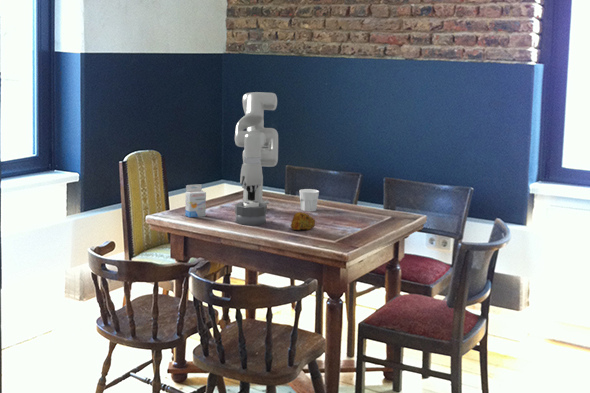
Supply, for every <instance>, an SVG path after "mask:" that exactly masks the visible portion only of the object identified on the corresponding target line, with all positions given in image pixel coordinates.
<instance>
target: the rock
mask: <svg viewBox="0 0 590 393" xmlns="http://www.w3.org/2000/svg"><path fill="white" fill-rule="evenodd" d="M315 225H316V220H315V219H314V218H313V217H312V216H310V215H309V214H308V213H305V212H300V211H299V212H296V213H295V214H294V215H293V217H292V220H291V222H290V228H291V229H292V231H293V230H294V231H296V230H297V231H300V230H307V231H309V230H311V229H313V228H315Z"/></svg>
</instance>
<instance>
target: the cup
mask: <svg viewBox="0 0 590 393" xmlns="http://www.w3.org/2000/svg"><path fill="white" fill-rule="evenodd" d="M319 194H320V191H319V190H317V189H314V188H313V189H312V188H304V189H299V200H300V201H299V202H300V203H299V205H300V211H304V212H310V211H311V212H317V208H318V201H319Z"/></svg>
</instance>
